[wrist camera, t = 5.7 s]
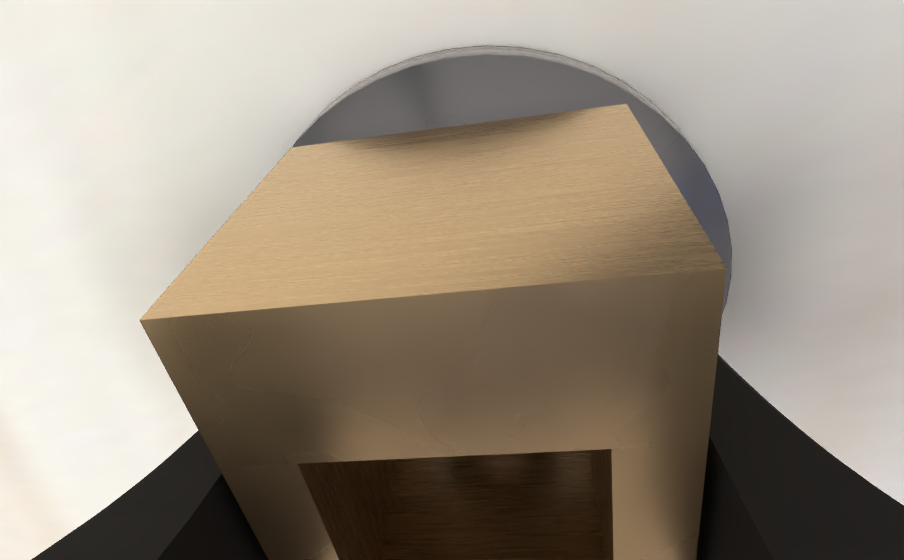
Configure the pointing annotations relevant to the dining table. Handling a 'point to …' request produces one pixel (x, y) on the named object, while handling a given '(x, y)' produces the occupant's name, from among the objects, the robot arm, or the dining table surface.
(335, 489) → the wooden cubby box
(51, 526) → the dining table surface
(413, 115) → the hub
